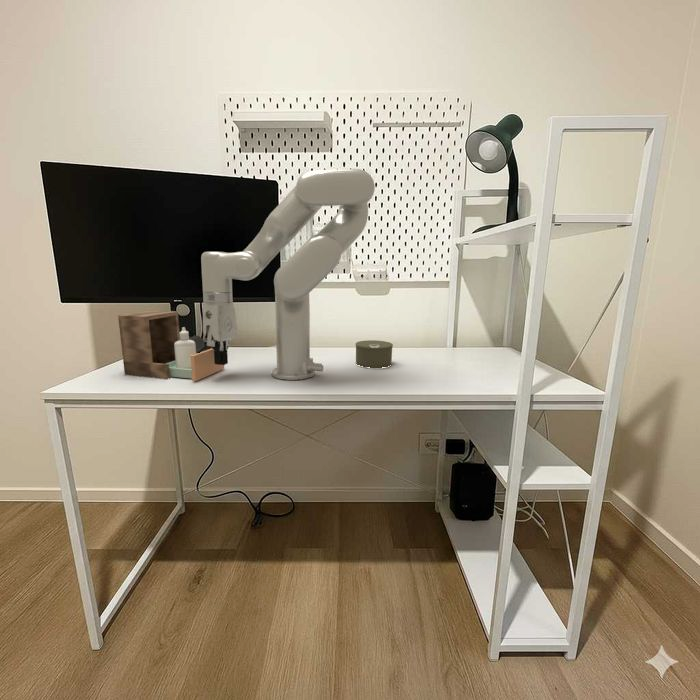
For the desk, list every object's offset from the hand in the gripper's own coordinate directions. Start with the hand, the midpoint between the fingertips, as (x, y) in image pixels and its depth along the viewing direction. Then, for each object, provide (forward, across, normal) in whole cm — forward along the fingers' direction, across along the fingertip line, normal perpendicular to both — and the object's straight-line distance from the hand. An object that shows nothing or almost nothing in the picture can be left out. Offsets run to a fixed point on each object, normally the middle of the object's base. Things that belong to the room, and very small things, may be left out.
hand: (221, 363), depth 110 cm
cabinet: (+4, 0, +20) cm, 20 cm away
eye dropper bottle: (+3, 0, +12) cm, 12 cm away
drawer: (+3, 0, +11) cm, 11 cm away
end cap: (+4, +18, +24) cm, 30 cm away
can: (+4, +27, -38) cm, 47 cm away
